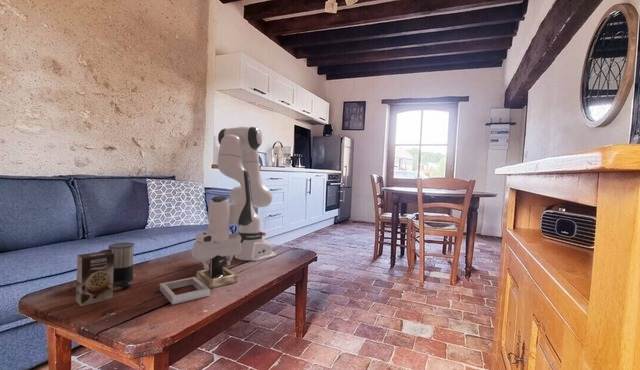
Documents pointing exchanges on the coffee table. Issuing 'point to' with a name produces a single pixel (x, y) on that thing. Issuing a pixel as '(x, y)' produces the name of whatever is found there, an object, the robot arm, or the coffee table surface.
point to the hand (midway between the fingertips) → (217, 267)
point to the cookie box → (94, 277)
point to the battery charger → (217, 266)
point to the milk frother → (122, 263)
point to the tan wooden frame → (210, 283)
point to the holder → (175, 299)
